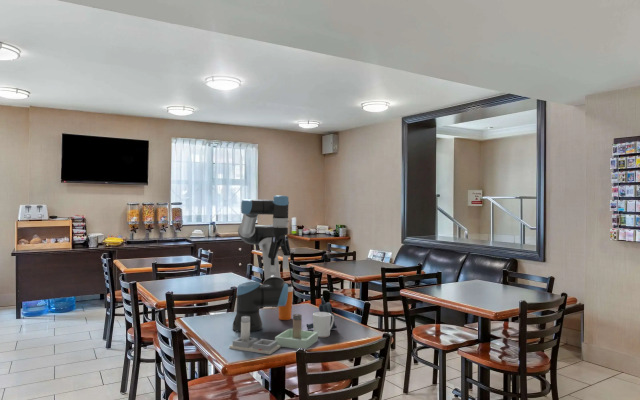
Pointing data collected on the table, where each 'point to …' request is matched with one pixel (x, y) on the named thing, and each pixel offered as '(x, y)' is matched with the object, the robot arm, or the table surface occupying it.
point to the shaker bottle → (287, 309)
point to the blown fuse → (297, 326)
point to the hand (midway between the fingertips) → (279, 270)
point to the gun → (324, 308)
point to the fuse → (245, 328)
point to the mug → (322, 323)
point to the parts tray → (287, 339)
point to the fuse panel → (256, 345)
